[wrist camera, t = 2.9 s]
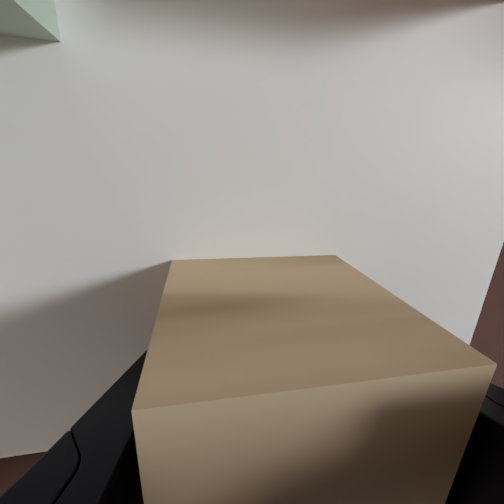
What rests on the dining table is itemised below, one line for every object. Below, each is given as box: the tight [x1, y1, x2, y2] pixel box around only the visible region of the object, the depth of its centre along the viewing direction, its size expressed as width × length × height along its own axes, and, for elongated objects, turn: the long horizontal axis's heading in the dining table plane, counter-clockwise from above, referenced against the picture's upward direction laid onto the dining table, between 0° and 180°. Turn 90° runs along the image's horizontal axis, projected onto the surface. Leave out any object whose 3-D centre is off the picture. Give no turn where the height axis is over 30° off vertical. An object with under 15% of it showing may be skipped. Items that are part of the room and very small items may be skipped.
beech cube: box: [131, 255, 497, 504], centre depth 7 cm, size 5×5×5 cm
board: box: [0, 0, 504, 458], centre depth 7 cm, size 20×24×1 cm
